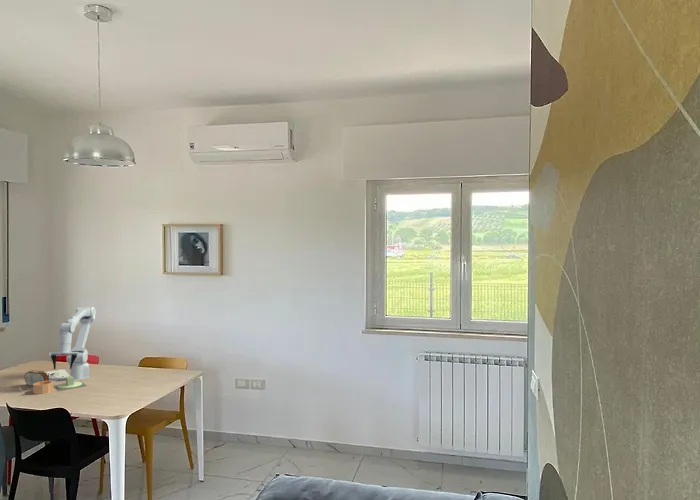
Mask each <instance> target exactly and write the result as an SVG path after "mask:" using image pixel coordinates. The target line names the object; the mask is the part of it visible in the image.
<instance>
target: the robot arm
mask: <svg viewBox="0 0 700 500" xmlns="http://www.w3.org/2000/svg"><path fill="white" fill-rule="evenodd" d="M96 316H97V310H96V308H95V306H78V307H77V308H76V309H75V314H74V315H70V317H69V318H68V319H67V320H66V321H65V322H63V323H60V325H59V326H58V331H59V333H58V334H59V336H60V337H59V345H58V351H54V352H52V351H50V352H48V357H50V358H51V360H52V363H53V364H52V365H53V370H56V368H57V357H62V356H63V357H64V356H66V362H67V363H68V365H69V371H70V373H69V374H70V375H69V376H72V377H74V381H81V380H84V379H89V378H90V366H89V362H88V360H89V359H88V357H89V356H88V354H89V351H88V349H86V348H85V346H86V342H87V340H88V336H89V332H90V329H91V325H92V323H93V322H94V321H95V318H96ZM79 323H80V329H79V331H78V335H77V338H76V343H75V346H74V347H73V348H72V340H73V333H75V330H76V328H77V326H78V325H79Z"/></svg>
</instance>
